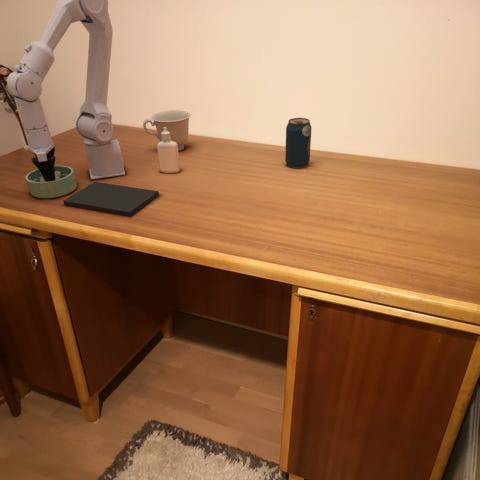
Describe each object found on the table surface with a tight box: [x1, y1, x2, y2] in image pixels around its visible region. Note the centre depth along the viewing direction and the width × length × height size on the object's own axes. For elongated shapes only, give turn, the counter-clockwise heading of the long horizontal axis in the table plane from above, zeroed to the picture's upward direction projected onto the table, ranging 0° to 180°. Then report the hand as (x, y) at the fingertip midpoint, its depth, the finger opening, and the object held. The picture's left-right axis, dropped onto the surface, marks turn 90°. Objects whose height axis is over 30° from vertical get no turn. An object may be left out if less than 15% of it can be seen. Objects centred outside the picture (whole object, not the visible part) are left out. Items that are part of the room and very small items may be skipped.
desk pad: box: [63, 181, 160, 218], centre depth 117 cm, size 20×13×1 cm, turn 66°
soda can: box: [284, 117, 313, 169], centre depth 129 cm, size 7×7×12 cm
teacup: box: [142, 109, 192, 152], centre depth 144 cm, size 12×15×10 cm
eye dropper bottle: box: [156, 127, 181, 174], centre depth 129 cm, size 4×6×12 cm
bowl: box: [25, 165, 78, 200], centre depth 123 cm, size 12×12×4 cm
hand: (51, 180), depth 123 cm, fingers closed on rubber duck, 5 cm apart
